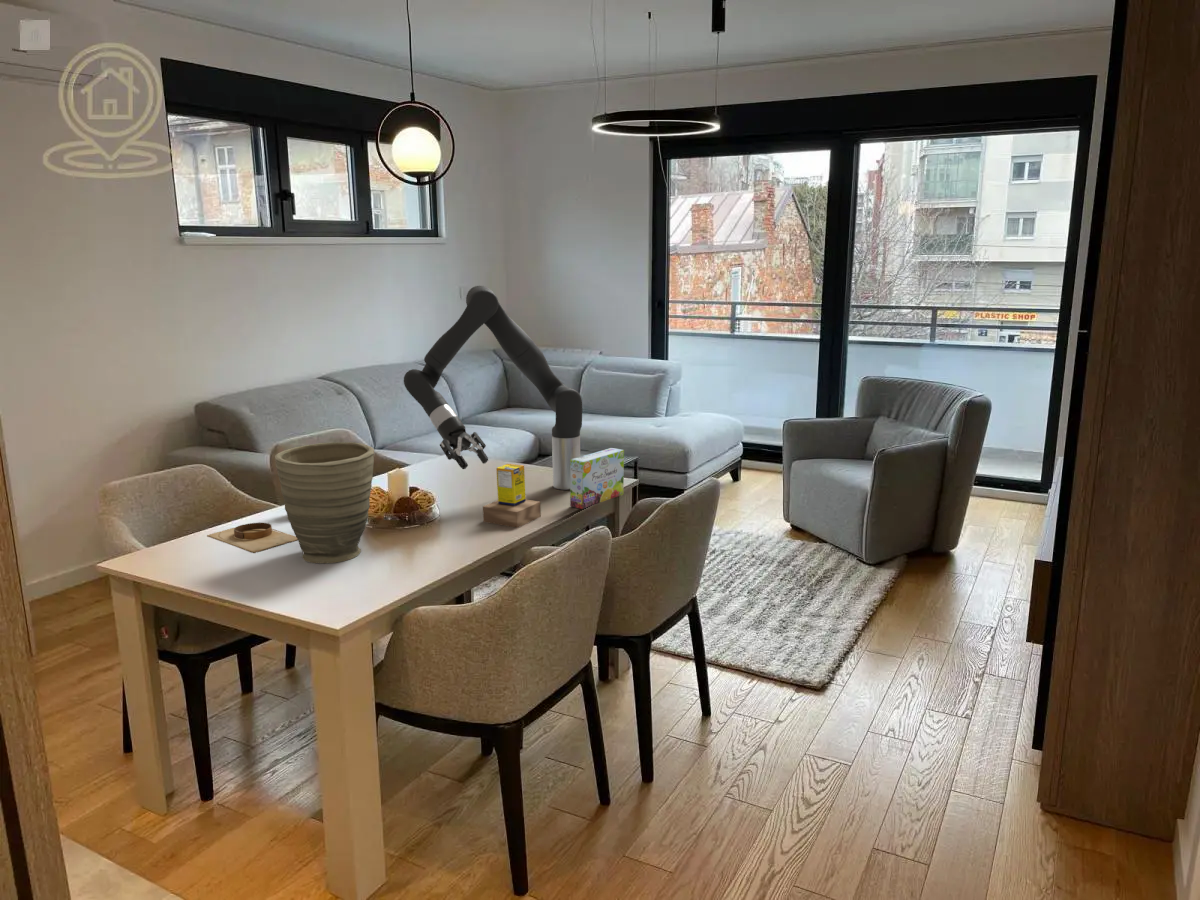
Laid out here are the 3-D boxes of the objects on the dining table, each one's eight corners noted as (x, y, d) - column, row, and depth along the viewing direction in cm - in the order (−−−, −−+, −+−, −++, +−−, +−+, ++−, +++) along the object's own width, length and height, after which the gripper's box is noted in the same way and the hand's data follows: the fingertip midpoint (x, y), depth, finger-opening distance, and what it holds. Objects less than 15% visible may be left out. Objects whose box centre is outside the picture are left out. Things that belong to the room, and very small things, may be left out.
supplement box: (526, 501, 258) (524, 465, 256) (514, 506, 253) (513, 469, 251) (509, 498, 261) (507, 463, 259) (497, 504, 256) (496, 467, 253)
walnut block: (507, 512, 265) (507, 496, 264) (540, 517, 259) (540, 501, 258) (483, 523, 254) (482, 506, 253) (517, 529, 249) (517, 512, 248)
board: (204, 538, 244) (202, 527, 244) (253, 524, 256) (252, 514, 255) (254, 555, 229) (253, 544, 229) (304, 540, 241) (303, 529, 240)
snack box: (584, 510, 265) (583, 461, 262) (569, 507, 268) (568, 459, 265) (624, 494, 282) (624, 448, 278) (610, 491, 285) (610, 446, 282)
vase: (269, 554, 230) (270, 440, 229) (362, 550, 241) (364, 441, 239) (278, 573, 208) (280, 446, 207) (380, 567, 219) (383, 447, 217)
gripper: (435, 419, 259) (464, 462, 255) (469, 411, 270) (498, 452, 266) (424, 434, 263) (453, 477, 259) (458, 426, 274) (486, 467, 270)
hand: (476, 464), depth 262 cm, fingers open, 8 cm apart
